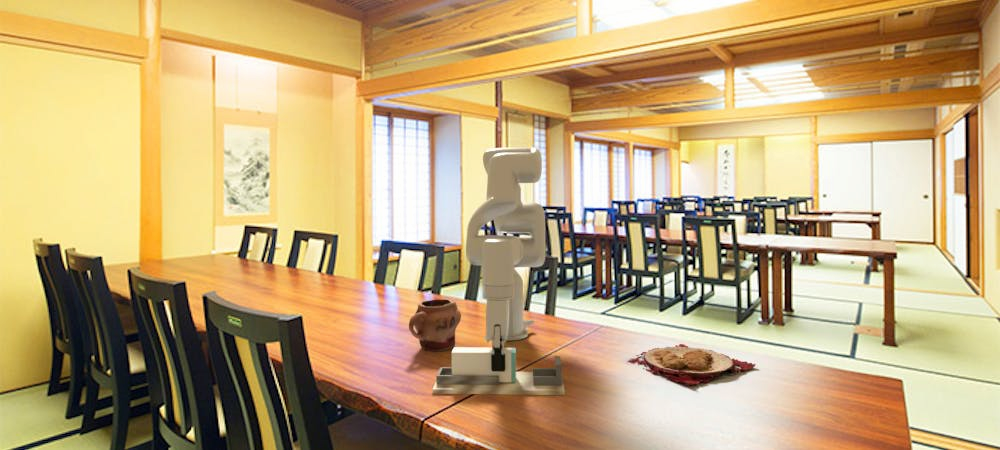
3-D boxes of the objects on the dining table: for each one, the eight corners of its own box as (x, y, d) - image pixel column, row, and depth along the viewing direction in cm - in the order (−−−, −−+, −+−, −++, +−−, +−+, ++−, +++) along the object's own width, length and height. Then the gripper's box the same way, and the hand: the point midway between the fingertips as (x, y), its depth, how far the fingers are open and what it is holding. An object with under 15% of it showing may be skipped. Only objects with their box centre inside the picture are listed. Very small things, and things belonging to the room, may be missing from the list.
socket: (533, 385, 117) (533, 364, 117) (533, 376, 123) (532, 355, 123) (561, 385, 117) (561, 364, 117) (559, 376, 123) (559, 356, 123)
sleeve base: (432, 393, 116) (432, 380, 115) (441, 374, 128) (441, 363, 127) (564, 395, 114) (564, 382, 114) (561, 376, 126) (561, 364, 126)
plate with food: (756, 371, 130) (757, 358, 130) (689, 389, 117) (690, 374, 117) (681, 349, 151) (681, 337, 151) (617, 361, 138) (617, 349, 138)
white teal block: (451, 381, 119) (451, 352, 119) (454, 375, 123) (453, 347, 123) (515, 382, 119) (515, 352, 118) (516, 376, 123) (515, 347, 122)
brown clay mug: (430, 361, 138) (429, 311, 137) (396, 355, 144) (395, 306, 143) (470, 342, 155) (470, 297, 154) (438, 337, 161) (438, 294, 160)
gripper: (485, 284, 128) (486, 356, 129) (479, 298, 111) (480, 380, 112) (515, 284, 128) (515, 356, 129) (513, 298, 111) (513, 380, 112)
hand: (498, 366), depth 121 cm, fingers closed on white teal block, 4 cm apart
